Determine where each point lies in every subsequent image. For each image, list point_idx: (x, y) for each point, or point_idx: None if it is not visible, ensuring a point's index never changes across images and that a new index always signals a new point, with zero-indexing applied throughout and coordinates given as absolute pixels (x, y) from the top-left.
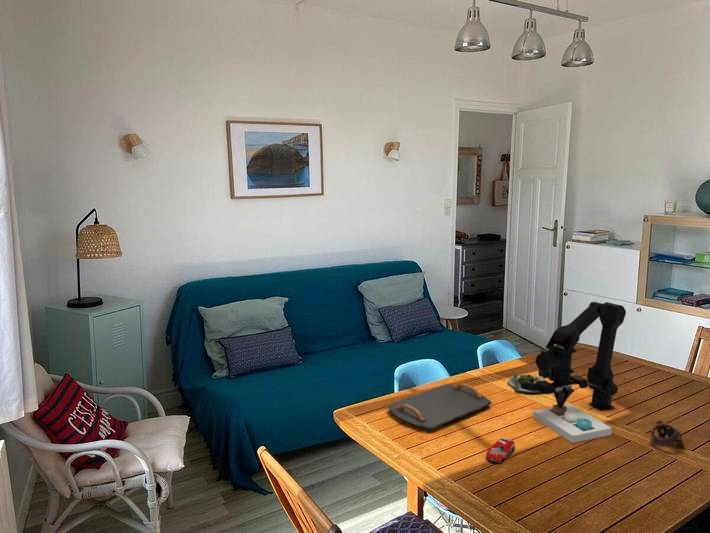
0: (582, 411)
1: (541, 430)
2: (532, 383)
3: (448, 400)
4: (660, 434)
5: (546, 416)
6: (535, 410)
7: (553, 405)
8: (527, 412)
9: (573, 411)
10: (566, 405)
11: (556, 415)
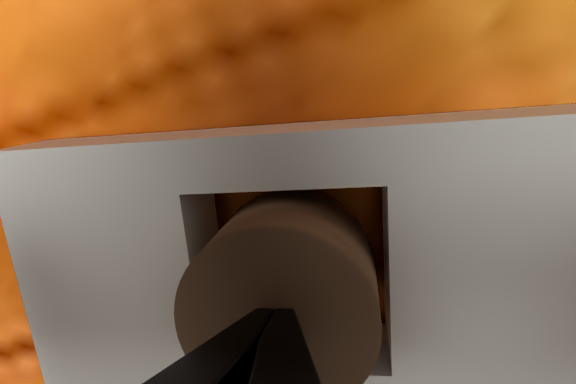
0: None
1: (17, 379)
2: None
3: None
4: None
5: (66, 332)
6: (6, 155)
7: (210, 247)
8: (35, 6)
9: (487, 339)
10: (553, 136)
11: None
